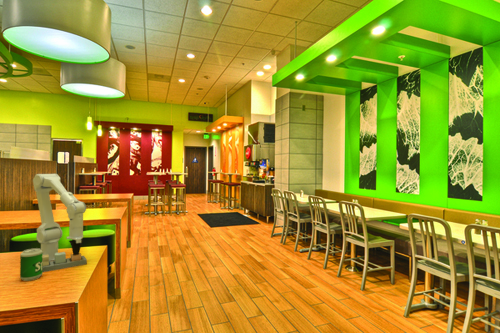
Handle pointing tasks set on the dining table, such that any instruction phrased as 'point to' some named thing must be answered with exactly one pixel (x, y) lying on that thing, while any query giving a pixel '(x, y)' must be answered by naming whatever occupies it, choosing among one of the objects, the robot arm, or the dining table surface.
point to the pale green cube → (60, 257)
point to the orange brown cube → (75, 257)
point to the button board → (64, 264)
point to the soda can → (31, 264)
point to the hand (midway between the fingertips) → (76, 254)
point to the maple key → (45, 260)
